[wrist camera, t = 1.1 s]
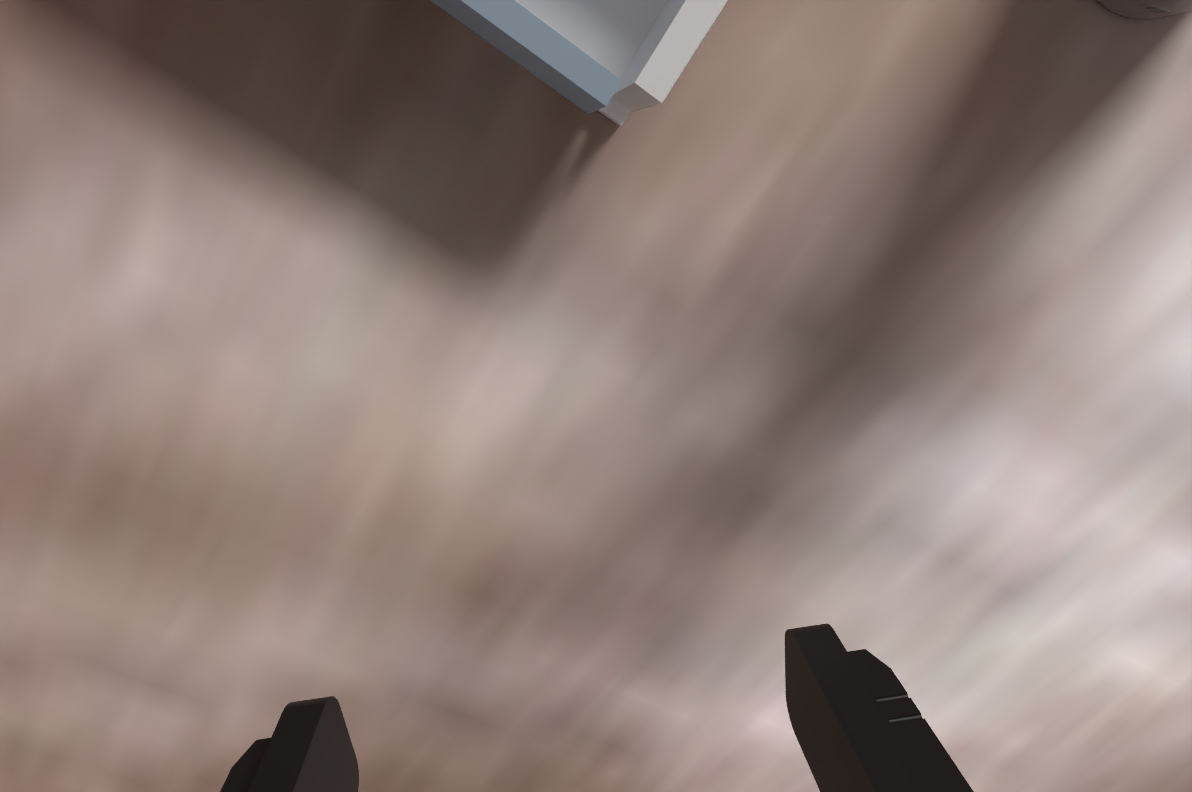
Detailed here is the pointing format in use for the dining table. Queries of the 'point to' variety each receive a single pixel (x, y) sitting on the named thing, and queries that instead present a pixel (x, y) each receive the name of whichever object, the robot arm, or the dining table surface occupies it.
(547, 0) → the case
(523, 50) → the door
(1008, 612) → the dining table surface
